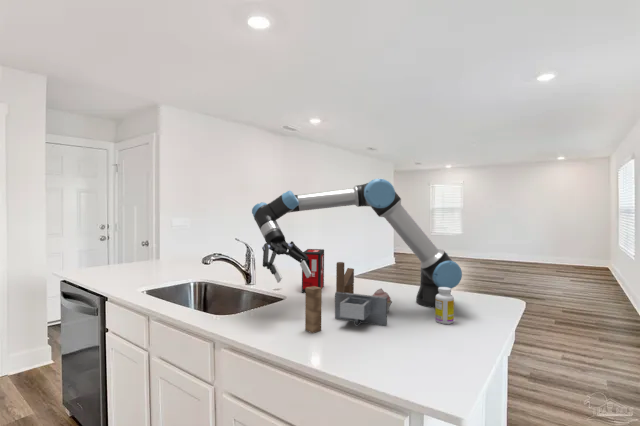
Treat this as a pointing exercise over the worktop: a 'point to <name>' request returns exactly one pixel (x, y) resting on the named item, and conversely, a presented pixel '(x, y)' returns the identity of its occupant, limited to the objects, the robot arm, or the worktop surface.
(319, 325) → the post
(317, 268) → the cleaning product box
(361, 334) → the worktop surface
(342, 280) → the brown wooden piece
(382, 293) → the cupcake
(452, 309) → the supplement bottle
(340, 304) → the cup bracket
